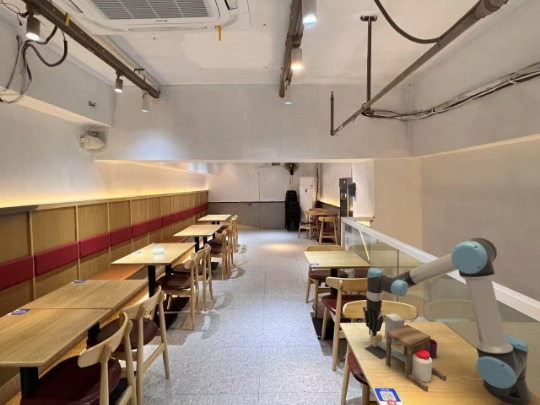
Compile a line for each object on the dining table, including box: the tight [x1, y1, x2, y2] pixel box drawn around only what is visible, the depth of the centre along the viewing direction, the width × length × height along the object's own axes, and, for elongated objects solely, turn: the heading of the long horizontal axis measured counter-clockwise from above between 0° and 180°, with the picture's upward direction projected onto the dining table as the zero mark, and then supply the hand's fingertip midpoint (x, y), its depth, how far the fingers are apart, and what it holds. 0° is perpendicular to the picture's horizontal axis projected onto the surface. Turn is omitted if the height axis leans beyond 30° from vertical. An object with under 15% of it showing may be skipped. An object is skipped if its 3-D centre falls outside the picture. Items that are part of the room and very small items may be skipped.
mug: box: [430, 338, 438, 359], centre depth 148 cm, size 7×10×7 cm
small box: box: [384, 313, 406, 345], centre depth 160 cm, size 8×6×13 cm
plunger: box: [372, 334, 413, 373], centre depth 144 cm, size 22×9×6 cm, turn 30°
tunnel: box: [385, 324, 447, 392], centre depth 134 cm, size 20×14×16 cm
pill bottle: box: [411, 349, 433, 383], centre depth 132 cm, size 8×8×11 cm
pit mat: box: [364, 344, 386, 360], centre depth 151 cm, size 10×12×1 cm
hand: (372, 341), depth 156 cm, fingers closed
